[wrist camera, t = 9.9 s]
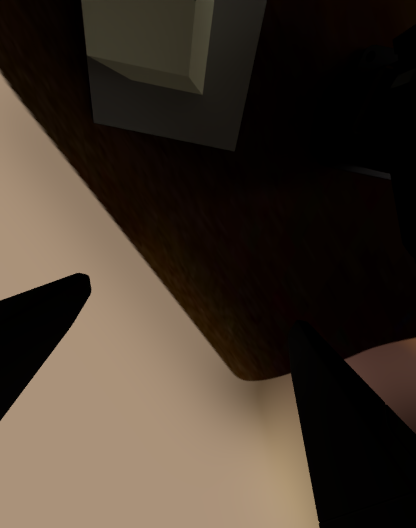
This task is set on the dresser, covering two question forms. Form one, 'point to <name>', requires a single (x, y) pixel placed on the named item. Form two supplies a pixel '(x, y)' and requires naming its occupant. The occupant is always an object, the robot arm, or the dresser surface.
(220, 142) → the mat
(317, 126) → the dresser surface
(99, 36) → the cube
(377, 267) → the dresser surface
